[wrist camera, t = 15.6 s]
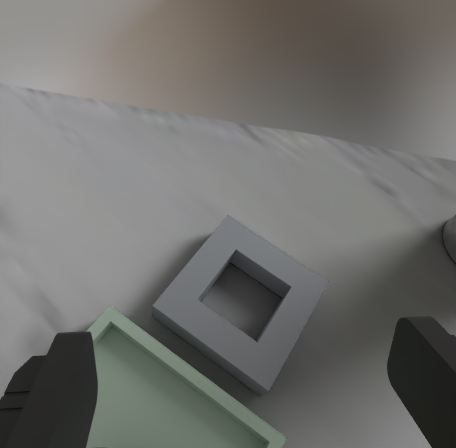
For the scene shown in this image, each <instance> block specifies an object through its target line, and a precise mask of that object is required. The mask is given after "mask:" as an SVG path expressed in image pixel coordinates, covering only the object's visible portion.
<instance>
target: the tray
mask: <svg viewBox="0 0 456 448" xmlns="http://www.w3.org/2000/svg"><path fill="white" fill-rule="evenodd" d="M86 332H91V334H92V339H93V347H94V354H95V362H96V370H97V378H98V395H97V403H96V408H95V412H94V417H93V421H92V425H91V429H90V433H89V437H88V441H87V446H86V448H95V447H106V448H282V447H283V445H284V443H285V441H286V439H287V438H286V437H285V436H283V435H282V434H281V433H279V432H278V431H277V430H275V429H274V428H273V427H271V426H270V425H269V424H267V423H266V422H265V421H264V420H262V419H261V418H260V417H258V416H257V415H256V414H254V413H253V412H252V411H250V410H249V409H248V408H246V407H245V406H244V405H242V404H241V403H240V402H238V401H237V400H236V399H234V398H233V397H232V396H230V395H229V394H228V393H226V392H225V391H224V390H222V389H221V388H220V387H218V386H217V385H216V384H214V383H213V382H212V381H210V380H209V379H208V378H206V377H205V376H204V375H202V374H201V373H200V372H198V371H197V370H196V369H194V368H193V367H192V366H190V365H189V364H188V363H186V362H185V361H184V360H182V359H181V358H180V357H178V356H177V355H176V354H174V353H173V352H172V351H170V350H169V349H168V348H166V347H165V346H164V345H162V344H161V343H160V342H158V341H157V340H156V339H154V338H153V337H152V336H150V335H149V334H148V333H146V332H145V331H144V330H142V329H141V328H140V327H138V326H137V325H136V324H134V323H133V322H132V321H130V320H129V319H128V318H126V317H125V316H124V315H122V314H121V313H120V312H118V311H117V310H116V309H114V308H113V307H112V306H110V305H109V306H108V307H107V309H106V310H105V311H104V312H103V313H102V314H101V315H100V316H99V317H98V319H97V320H96V321H95V322H94V323H93V324H92V325H91V326H90V327H89V328H88V330H87V331H86Z"/></svg>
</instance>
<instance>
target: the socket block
mask: <svg viewBox="0 0 456 448" xmlns="http://www.w3.org/2000/svg"><path fill="white" fill-rule="evenodd" d="M230 262H231V263H232V264H234V265H235V266H236V267H238V268H239V269H241V270H242V271H244V272H245V273H247V274H248V275H250V276H251V277H252V278H254V279H255V280H257V281H258V282H260V283H261V284H263V285H264V286H266V287H267V288H268V289H270V290H271V291H273V292H274V293H276V294H277V295H279V296H280V297H282V299H281V301H280V302H279V304H278V305H277V307H276V309H275V310H274V312H273V314H272V315H271V317H270V318H269V320H268V322H267V323H266V325H265V327H264V328H263V330H262V331H261V333H260V335H259V336H258V338H257V340H256V341H255V340H254V339H252V338H251V337H249V336H248V335H247V334H245V333H244V332H242V331H241V330H240V329H238V328H237V327H235V326H234V325H233V324H231V323H230V322H228V321H227V320H226V319H224V318H223V317H221V316H220V315H219V314H217V313H216V312H214V311H213V310H212V309H210V308H209V307H207V306H206V305H205V304H203V303H202V302H201V300H202V299H203V298H204V296H205V295H206V294H207V292H208V291H209V290H210V288H211V287H212V286H213V284H214V283H215V282H216V280H217V279H218V278H219V276H220V275H221V274H222V272H223V271H224V270H225V268H226V267H227V266H228V264H229V263H230ZM328 283H329V281H327V280H326V279H324V278H322V277H321V276H319V275H318V274H316V273H315V272H313V271H312V270H310V269H309V268H307V267H306V266H304V265H303V264H301V263H300V262H298V261H297V260H295V259H294V258H292V257H291V256H289V255H288V254H286V253H285V252H283V251H282V250H280V249H279V248H277V247H276V246H274V245H273V244H271V243H270V242H268V241H267V240H265V239H264V238H262V237H261V236H259V235H258V234H256V233H255V232H253V231H252V230H250V229H249V228H247V227H246V226H244V225H243V224H241V223H240V222H238V221H237V220H235V219H234V218H232V217H231V216H229V215H227V216H226V217H225V219H224V220H223V221H222V222H221V223H220V225H219V226H218V227H217V228H216V229H215V231H214V232H213V233H212V234H211V236H210V237H209V238H208V239H207V240H206V242H205V243H204V244H203V245H202V246H201V248H200V249H199V250H198V251H197V252H196V254H195V255H194V256H193V257H192V258H191V260H190V261H189V262H188V263H187V264H186V266H185V267H184V268H183V269H182V270H181V272H180V273H179V274H178V275H177V276H176V278H175V279H174V280H173V281H172V282H171V284H170V285H169V286H168V287H167V288H166V290H165V291H164V292H163V293H162V294H161V296H160V297H159V298H158V299H157V300H156V302H155V303H154V304H153V305H152V317H154V318H155V319H156V320H158V321H159V322H161V323H162V324H163V325H165V326H166V327H167V328H169V329H170V330H171V331H173V332H174V333H175V334H177V335H178V336H179V337H181V338H182V339H183V340H185V341H186V342H188V343H189V344H190V345H192V346H193V347H194V348H196V349H197V350H198V351H200V352H201V353H202V354H204V355H205V356H206V357H208V358H209V359H210V360H212V361H213V362H215V363H216V364H217V365H219V366H220V367H221V368H223V369H224V370H225V371H227V372H228V373H229V374H231V375H232V376H233V377H235V378H236V379H237V380H239V381H240V382H242V383H243V384H244V385H246V386H247V387H248V388H250V389H251V390H252V391H254V392H255V393H256V394H258V395H259V396H261V395H263V394H265V393H266V392H268V391H269V390H270V388H271V387H272V385H273V383H274V381H275V379H276V377H277V376H278V374H279V372H280V370H281V368H282V367H283V365H284V363H285V361H286V359H287V357H288V356H289V354H290V352H291V350H292V348H293V347H294V345H295V343H296V341H297V339H298V337H299V336H300V334H301V332H302V330H303V328H304V327H305V325H306V323H307V321H308V319H309V318H310V316H311V314H312V312H313V310H314V308H315V307H316V305H317V303H318V301H319V299H320V298H321V296H322V294H323V292H324V290H325V288H326V287H327V285H328Z"/></svg>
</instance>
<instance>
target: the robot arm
mask: <svg viewBox="0 0 456 448" xmlns="http://www.w3.org/2000/svg"><path fill="white" fill-rule="evenodd" d="M443 240H444V244H445V247H446V249H447V251H448V253H449V255H450V256H451V258H452V259H453V261H454V262H455V263H456V215H455V216H454V217H452V218H451V219H450V220H449V221H448V222H447V223H446V225H445V226H444V230H443ZM387 371H388V377H389V380H390V383H391V385H392V387H393V389H394V390H395V392H396V393H397V395H398V396H399V398H400V399H401V401H402V402H403V404H404V405H405V407H406V409H407V410H408V412H409V413H410V415H411V416H412V418H413V419H414V421H415V422H416V424H417V425H418V427H419V428H420V430H421V431H422V433H423V435H424V436H425V438H426V439H427V441H428V442H429V444H430V445H431V447H432V448H456V337H455V336H454V335H450V334H449V333H448V332H447V331H446V330H445V329H444V328H443V327H442V326H441V325H440V324H439V323H438V322H437V321H436V320H435V319H434V318H432V317H406V318H401V319H399V320H398V322H397V325H396V329H395V333H394V337H393V341H392V345H391V350H390V354H389V358H388V363H387ZM97 395H98V378H97V370H96V362H95V354H94V347H93V339H92V334H91V332H68V333H58V334H57V335H56V336H55V338H54V340H53V343H52V345H51V347H50V349H49V351H48V354H47V355H46V356H32V357H31V358H30V359H29V360H28V361H27V362H26V363H25V364H24V365H23V366H22V367H21V368H19V369H18V370H17V371H16V372H15V373H14V375H13V377H12V379H11V381H10V383H9V385H8V387H7V388H6V390H5V392H4V396H2V398H1V400H0V448H86V446H87V441H88V437H89V433H90V429H91V425H92V421H93V417H94V412H95V408H96V403H97Z"/></svg>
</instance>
